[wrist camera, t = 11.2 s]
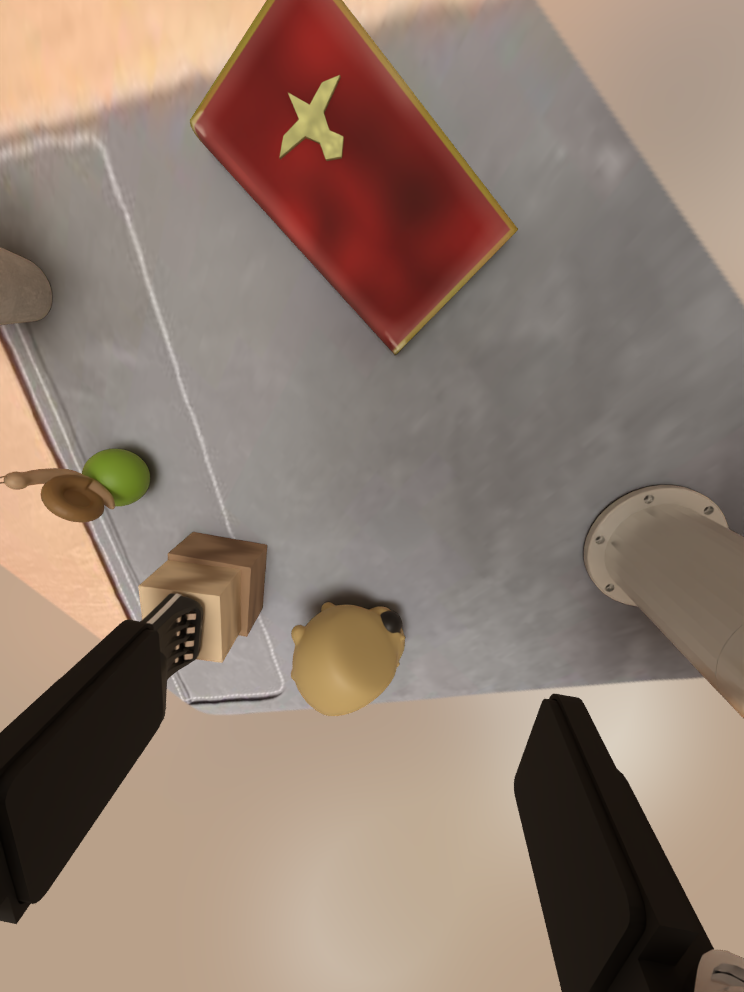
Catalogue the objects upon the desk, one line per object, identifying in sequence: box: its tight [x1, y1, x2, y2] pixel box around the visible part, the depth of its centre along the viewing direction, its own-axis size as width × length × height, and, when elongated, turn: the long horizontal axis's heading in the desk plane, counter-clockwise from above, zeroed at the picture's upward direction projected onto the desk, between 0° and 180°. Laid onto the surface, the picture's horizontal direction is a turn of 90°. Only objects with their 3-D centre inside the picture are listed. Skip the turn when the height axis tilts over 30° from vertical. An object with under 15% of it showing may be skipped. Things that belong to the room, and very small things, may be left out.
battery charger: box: [140, 593, 203, 720], centre depth 29 cm, size 7×4×11 cm, turn 167°
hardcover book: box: [190, 0, 518, 355], centre depth 30 cm, size 12×21×4 cm, turn 44°
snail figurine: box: [0, 449, 150, 522], centre depth 34 cm, size 5×6×12 cm
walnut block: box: [168, 532, 267, 637], centre depth 41 cm, size 8×8×5 cm
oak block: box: [139, 560, 241, 663], centre depth 37 cm, size 7×7×4 cm
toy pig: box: [291, 602, 405, 716], centre depth 40 cm, size 10×12×11 cm
